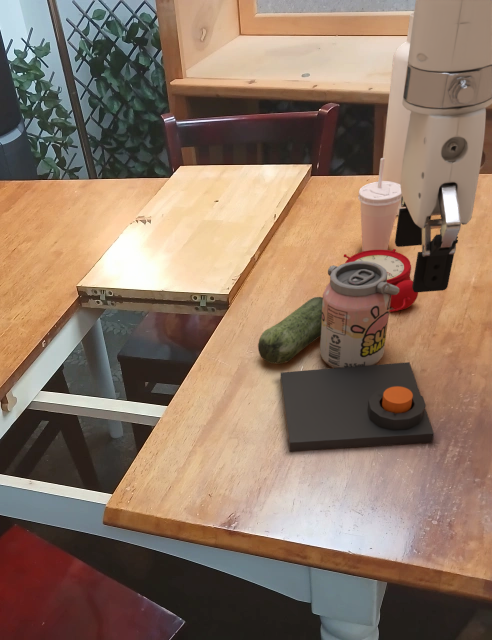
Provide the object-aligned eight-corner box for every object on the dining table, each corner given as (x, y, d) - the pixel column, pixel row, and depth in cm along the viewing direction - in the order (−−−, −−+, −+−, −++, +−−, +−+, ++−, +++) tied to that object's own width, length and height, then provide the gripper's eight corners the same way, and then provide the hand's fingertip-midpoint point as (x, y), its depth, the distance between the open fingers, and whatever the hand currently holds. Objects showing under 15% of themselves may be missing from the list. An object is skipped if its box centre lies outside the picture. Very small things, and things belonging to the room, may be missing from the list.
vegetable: (281, 376, 97) (282, 344, 93) (251, 363, 100) (250, 331, 96) (344, 326, 102) (346, 294, 99) (313, 316, 106) (314, 284, 102)
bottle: (427, 192, 126) (455, 1, 106) (430, 214, 121) (460, 16, 101) (377, 195, 128) (396, 8, 108) (378, 216, 123) (398, 23, 103)
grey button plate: (408, 370, 93) (411, 351, 91) (432, 442, 84) (436, 422, 82) (280, 380, 96) (280, 361, 94) (289, 451, 87) (289, 432, 84)
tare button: (408, 395, 86) (409, 385, 85) (413, 412, 84) (415, 402, 83) (379, 397, 87) (381, 387, 86) (384, 414, 85) (386, 404, 83)
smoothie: (385, 237, 118) (395, 147, 108) (403, 255, 113) (416, 162, 103) (347, 246, 118) (353, 157, 108) (363, 264, 113) (372, 172, 103)
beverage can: (349, 328, 102) (356, 247, 93) (402, 349, 97) (415, 265, 88) (306, 359, 99) (309, 278, 90) (358, 382, 93) (366, 298, 85)
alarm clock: (405, 242, 108) (432, 270, 96) (402, 284, 112) (427, 316, 99) (333, 250, 110) (349, 279, 98) (332, 292, 113) (348, 324, 101)
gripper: (526, 110, 57) (479, 307, 69) (471, 50, 69) (439, 226, 81) (425, 121, 58) (395, 312, 70) (388, 60, 70) (368, 232, 82)
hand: (419, 266), depth 76 cm, fingers open, 9 cm apart
